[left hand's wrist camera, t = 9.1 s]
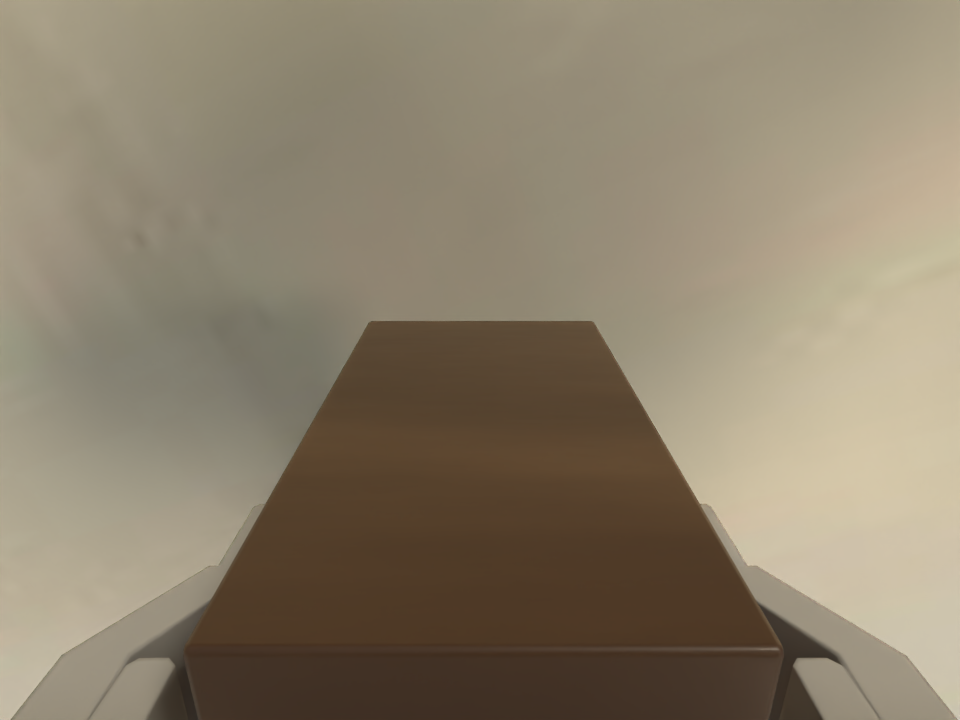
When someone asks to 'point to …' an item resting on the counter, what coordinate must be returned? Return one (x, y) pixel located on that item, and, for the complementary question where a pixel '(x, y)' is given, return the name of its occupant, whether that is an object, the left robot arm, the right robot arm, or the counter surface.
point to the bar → (482, 551)
